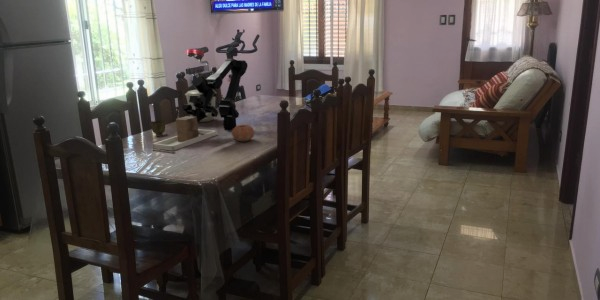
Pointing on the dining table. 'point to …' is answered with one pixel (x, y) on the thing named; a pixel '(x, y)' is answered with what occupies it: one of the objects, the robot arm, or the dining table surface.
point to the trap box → (174, 144)
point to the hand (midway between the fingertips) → (193, 124)
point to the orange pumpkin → (243, 133)
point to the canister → (194, 93)
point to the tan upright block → (186, 128)
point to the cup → (158, 127)
